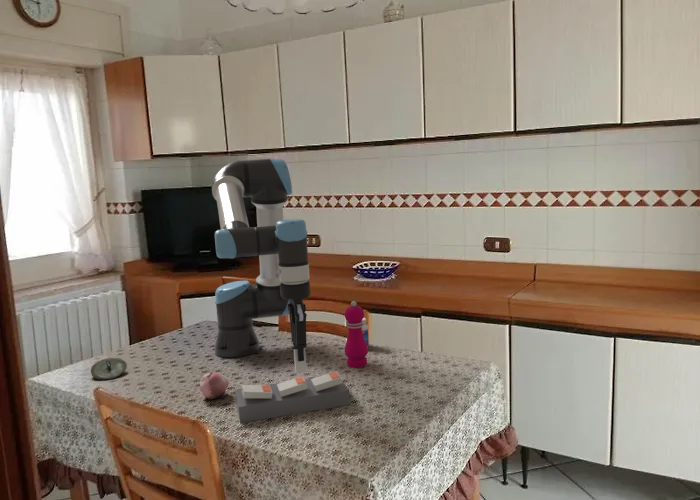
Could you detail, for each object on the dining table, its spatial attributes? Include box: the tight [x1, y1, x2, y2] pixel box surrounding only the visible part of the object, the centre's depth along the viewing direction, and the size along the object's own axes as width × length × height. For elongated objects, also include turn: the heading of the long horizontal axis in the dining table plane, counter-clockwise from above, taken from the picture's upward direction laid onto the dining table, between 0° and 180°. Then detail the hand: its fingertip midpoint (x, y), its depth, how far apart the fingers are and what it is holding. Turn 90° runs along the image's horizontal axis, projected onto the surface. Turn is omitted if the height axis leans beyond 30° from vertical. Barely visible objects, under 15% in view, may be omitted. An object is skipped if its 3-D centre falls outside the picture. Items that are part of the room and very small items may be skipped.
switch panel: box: [234, 377, 351, 424], centre depth 152 cm, size 12×28×4 cm, turn 105°
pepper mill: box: [344, 300, 369, 369], centre depth 179 cm, size 7×7×20 cm
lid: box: [90, 357, 128, 381], centre depth 182 cm, size 11×10×5 cm
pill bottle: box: [362, 317, 370, 348], centre depth 196 cm, size 6×5×10 cm
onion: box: [199, 371, 230, 401], centre depth 160 cm, size 8×8×7 cm
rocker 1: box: [241, 384, 272, 399], centre depth 147 cm, size 5×7×2 cm
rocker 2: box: [276, 375, 308, 397], centre depth 150 cm, size 5×7×2 cm
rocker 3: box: [310, 370, 343, 392], centre depth 152 cm, size 5×7×2 cm
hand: (301, 371), depth 150 cm, fingers closed
